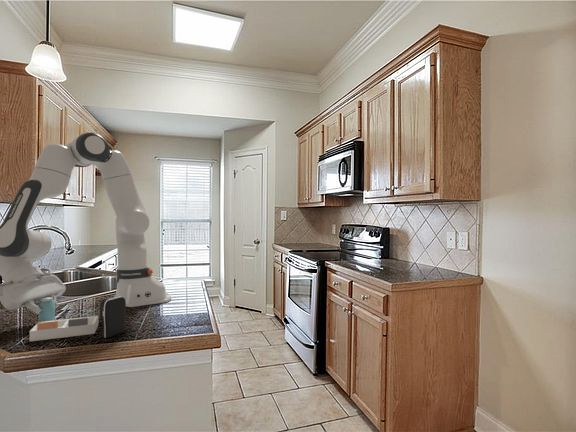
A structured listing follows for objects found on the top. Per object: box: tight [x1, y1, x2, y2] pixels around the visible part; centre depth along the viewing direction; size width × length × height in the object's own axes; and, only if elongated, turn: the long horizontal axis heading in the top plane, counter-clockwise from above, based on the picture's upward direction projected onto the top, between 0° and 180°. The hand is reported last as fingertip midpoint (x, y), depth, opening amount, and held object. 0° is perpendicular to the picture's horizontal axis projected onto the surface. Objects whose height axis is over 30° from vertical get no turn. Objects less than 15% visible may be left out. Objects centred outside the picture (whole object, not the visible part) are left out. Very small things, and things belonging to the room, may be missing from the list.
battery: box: [99, 295, 127, 339], centre depth 104 cm, size 7×4×11 cm, turn 155°
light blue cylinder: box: [38, 297, 56, 322], centre depth 112 cm, size 4×4×9 cm
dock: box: [29, 315, 99, 342], centre depth 105 cm, size 16×9×5 cm, turn 112°
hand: (48, 309), depth 112 cm, fingers closed on light blue cylinder, 4 cm apart
